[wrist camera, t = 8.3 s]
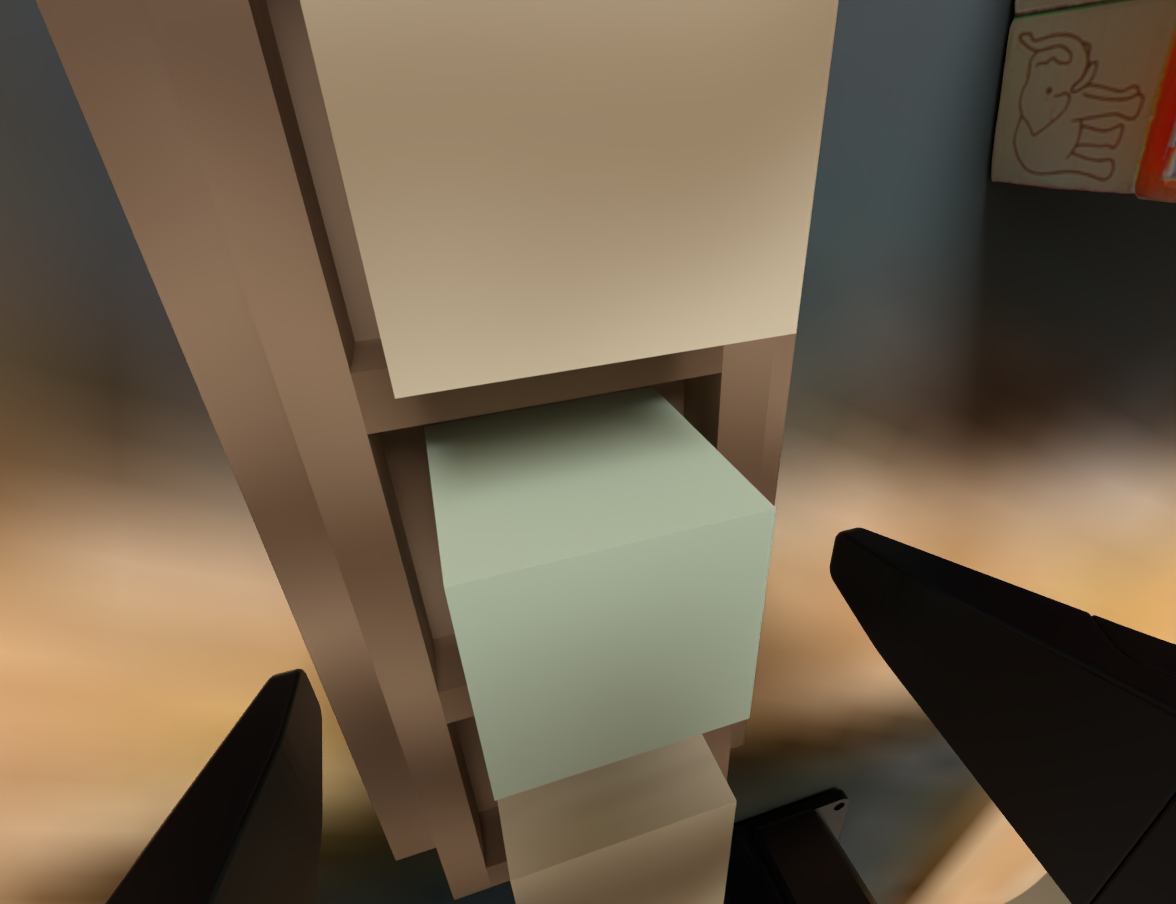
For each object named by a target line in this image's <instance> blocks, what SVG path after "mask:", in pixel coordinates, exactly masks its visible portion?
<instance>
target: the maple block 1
mask: <svg viewBox="0 0 1176 904" xmlns="http://www.w3.org/2000/svg"><path fill="white" fill-rule="evenodd" d="M300 3H301V7H302V11H303V15H304V20H305V24H306V28H307V32H308V36H309V40H310V45H311V49H312V53H313V57H314V61H315V66H316V70H317V74H318V78H319V82H320V86H321V91H322V95H323V99H324V103H325V107H326V112H327V116H328V120H329V124H330V128H331V133H332V137H333V141H334V145H335V149H336V153H337V158H338V162H339V166H340V170H341V174H342V179H343V183H344V187H345V191H346V195H347V199H348V204H349V208H350V212H351V216H352V220H353V225H354V229H355V233H356V237H357V241H358V246H359V250H360V254H361V258H362V262H363V266H364V271H365V275H366V279H367V283H368V287H369V292H370V296H371V300H372V304H373V308H374V312H375V317H376V321H377V325H378V329H379V333H380V338H381V342H382V346H383V350H384V354H385V358H386V363H387V367H388V371H389V375H390V379H391V384H392V388H393V392H394V396H395V399H396V398H403V397H409V396H415V395H421V394H427V393H433V392H439V391H446V390H452V389H458V388H464V387H470V386H476V385H482V384H488V383H495V382H501V381H507V380H513V379H519V378H525V377H531V376H538V375H544V374H550V373H556V372H562V371H568V370H574V369H580V368H587V367H593V366H599V365H605V364H611V363H617V362H623V361H630V360H636V359H642V358H648V357H654V356H660V355H666V354H672V353H679V352H685V351H691V350H697V349H703V348H709V347H715V346H722V345H728V344H734V343H740V342H746V341H752V340H758V339H764V338H771V337H777V336H783V335H789V334H795V333H796V330H797V322H798V314H799V307H800V299H801V291H802V283H803V275H804V267H805V259H806V252H807V244H808V236H809V228H810V220H811V212H812V205H813V197H814V189H815V181H816V173H817V165H818V157H819V150H820V142H821V134H822V126H823V118H824V110H825V102H826V95H827V87H828V79H829V71H830V63H831V55H832V47H833V40H834V32H835V24H836V16H837V8H838V0H300Z"/></svg>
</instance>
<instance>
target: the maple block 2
mask: <svg viewBox="0 0 1176 904" xmlns="http://www.w3.org/2000/svg"><path fill="white" fill-rule="evenodd" d="M497 802H498V808H499V815H500V821H501V827H502V833H503V839H504V845H505V851H506V857H507V863H508V870H509V876H510V882H511V886H512V890H513V894H514V898H515V903H516V904H723V903H724V895H725V888H726V880H727V872H728V864H729V856H730V848H731V840H732V833H733V825H734V817H735V809H736V799H735V797H734V795H733V793H732V791H731V789H730V787H729V785H728V783H727V781H726V779H725V777H724V776H723V774H722V772H721V770H720V768H719V766H718V764H717V762H716V760H715V758H714V756H713V754H712V752H711V750H710V749H709V747H708V745H707V743H706V741H705V739H704V737H703V735H702V734H699V735H696V736H693V737H690V738H687V739H684V740H681V741H678V742H675V743H672V744H669V745H665V746H662V747H659V748H656V749H653V750H650V751H647V752H644V753H641V754H638V755H635V756H631V757H628V758H625V759H622V760H619V761H616V762H613V763H610V764H607V765H604V766H601V767H598V768H594V769H591V770H588V771H585V772H582V773H579V774H576V775H573V776H570V777H567V778H564V779H560V780H557V781H554V782H551V783H548V784H545V785H542V786H539V787H536V788H533V789H530V790H526V791H523V792H520V793H517V794H514V795H511V796H508V797H505V798H502V799H499V800H497Z"/></svg>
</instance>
